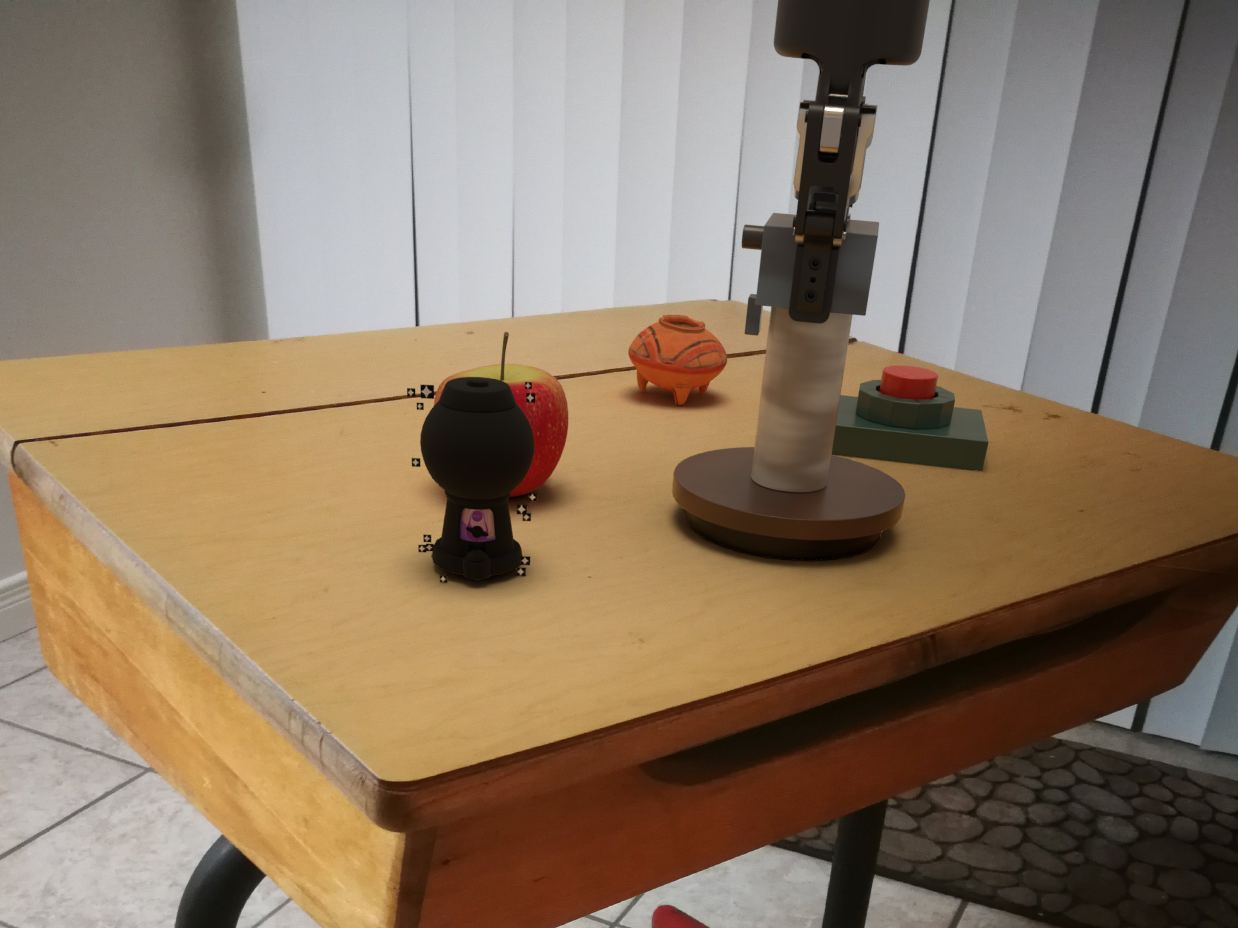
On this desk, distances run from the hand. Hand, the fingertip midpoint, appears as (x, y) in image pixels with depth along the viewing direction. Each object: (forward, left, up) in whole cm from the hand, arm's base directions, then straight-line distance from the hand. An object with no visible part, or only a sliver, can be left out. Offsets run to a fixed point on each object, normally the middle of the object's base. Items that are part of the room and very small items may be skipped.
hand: (811, 309), depth 72 cm
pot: (+11, -28, -13) cm, 33 cm away
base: (0, 0, -13) cm, 13 cm away
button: (-7, -21, -9) cm, 24 cm away
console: (-7, -21, -13) cm, 25 cm away
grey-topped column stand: (0, 0, -11) cm, 11 cm away
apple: (+18, 0, -13) cm, 22 cm away
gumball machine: (+16, +13, -13) cm, 24 cm away
